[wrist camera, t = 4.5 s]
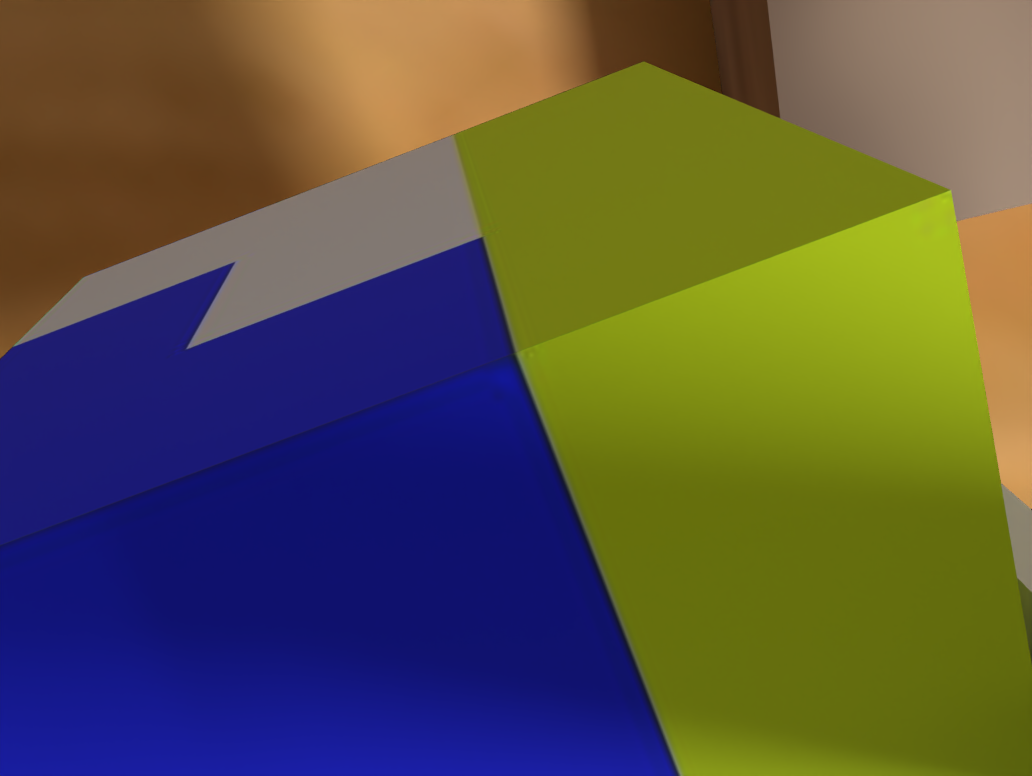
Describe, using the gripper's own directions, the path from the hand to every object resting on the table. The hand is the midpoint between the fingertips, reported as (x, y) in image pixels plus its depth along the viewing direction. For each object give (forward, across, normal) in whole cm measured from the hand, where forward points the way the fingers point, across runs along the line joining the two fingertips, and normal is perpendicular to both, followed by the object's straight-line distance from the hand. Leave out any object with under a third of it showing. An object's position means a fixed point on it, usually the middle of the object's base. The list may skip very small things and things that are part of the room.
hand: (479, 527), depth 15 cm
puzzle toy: (+4, 0, 0) cm, 4 cm away
